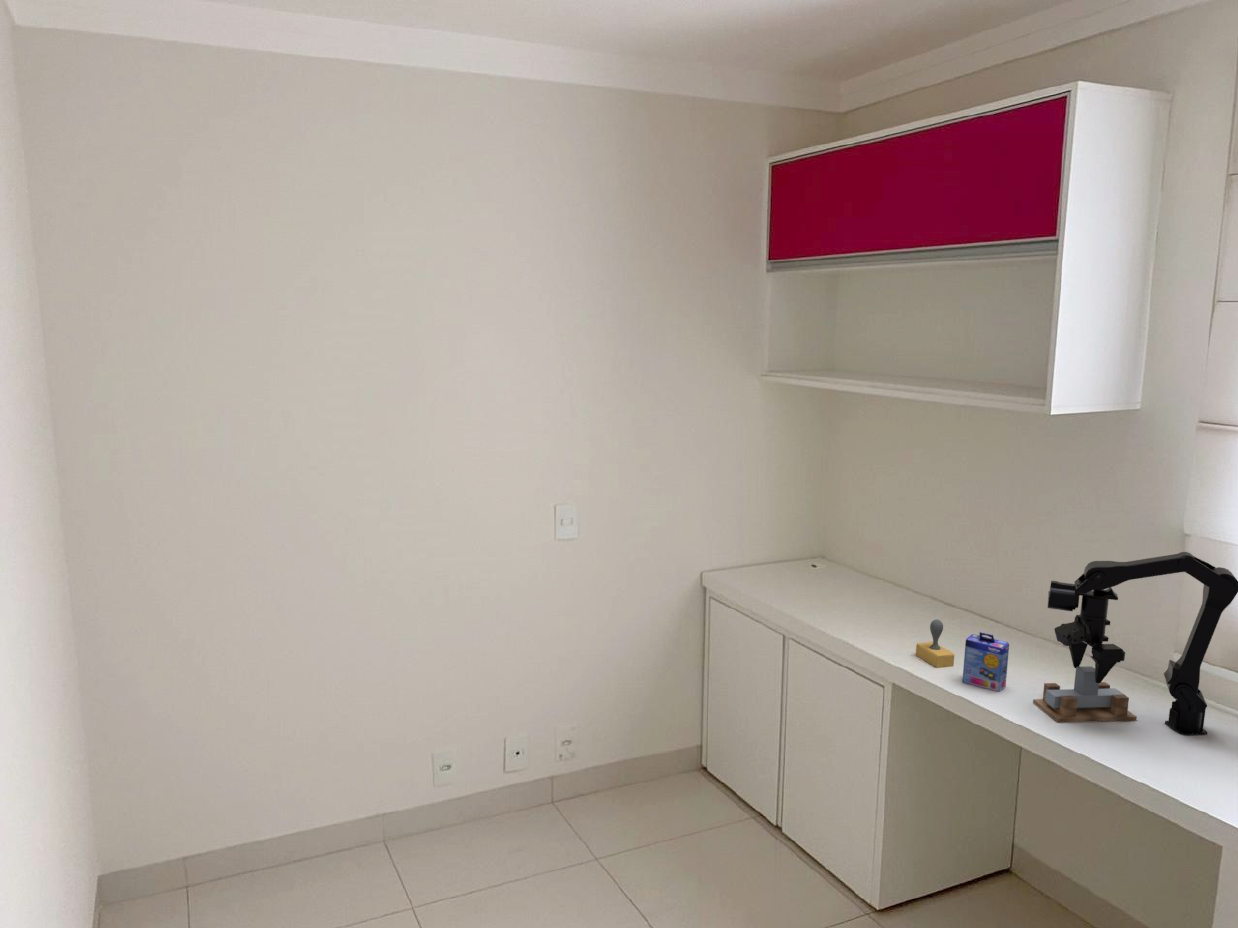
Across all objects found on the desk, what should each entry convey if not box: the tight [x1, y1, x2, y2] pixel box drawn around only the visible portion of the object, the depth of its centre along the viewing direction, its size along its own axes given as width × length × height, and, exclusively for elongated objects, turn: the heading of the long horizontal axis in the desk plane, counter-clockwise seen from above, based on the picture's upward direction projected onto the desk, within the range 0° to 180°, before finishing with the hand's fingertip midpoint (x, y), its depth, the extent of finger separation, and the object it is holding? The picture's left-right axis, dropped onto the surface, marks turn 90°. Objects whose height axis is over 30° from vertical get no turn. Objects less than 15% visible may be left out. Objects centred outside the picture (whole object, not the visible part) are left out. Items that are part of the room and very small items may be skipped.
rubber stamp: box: [915, 619, 955, 669], centre depth 258 cm, size 10×6×12 cm, turn 17°
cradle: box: [1032, 681, 1137, 723], centre depth 227 cm, size 20×11×6 cm, turn 95°
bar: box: [1045, 665, 1127, 708], centre depth 226 cm, size 18×4×9 cm, turn 95°
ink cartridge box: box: [961, 631, 1010, 693], centre depth 242 cm, size 10×6×14 cm, turn 51°
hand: (1086, 675), depth 226 cm, fingers open, 9 cm apart
